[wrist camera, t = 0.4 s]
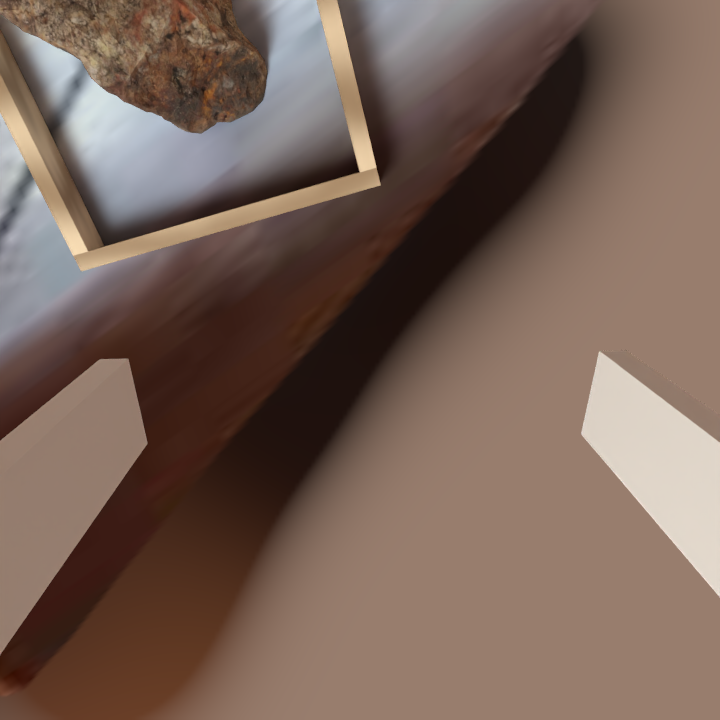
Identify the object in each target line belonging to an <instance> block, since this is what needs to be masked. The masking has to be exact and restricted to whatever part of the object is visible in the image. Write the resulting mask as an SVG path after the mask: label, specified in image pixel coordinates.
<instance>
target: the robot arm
mask: <svg viewBox="0 0 720 720" xmlns="http://www.w3.org/2000/svg"><path fill="white" fill-rule="evenodd" d="M581 434H582V436H583V437H584V438H585V439H586V440H587V442H588V443H589V444H590V445H591V446H592V447H593V449H594V450H595V451H596V452H597V453H598V454H599V456H601V458H602V459H603V460H604V461H605V463H606V464H607V465H608V466H609V467H610V469H611V470H612V471H613V472H614V473H615V474H616V476H617V477H618V478H619V479H620V480H621V482H622V483H623V484H624V485H625V486H626V487H627V489H628V490H629V491H630V492H631V493H632V494H633V496H634V497H635V498H636V499H637V500H638V501H639V503H640V504H641V505H642V506H643V507H644V509H645V510H646V511H647V512H648V513H649V514H650V516H651V517H652V518H653V519H654V520H655V522H656V523H657V524H658V525H659V526H660V527H661V529H662V530H663V531H664V532H665V533H666V534H667V536H668V537H669V538H670V539H671V540H672V541H673V543H674V544H675V545H676V546H677V547H678V549H679V550H680V551H681V552H682V553H683V554H684V555H685V557H686V558H687V559H688V560H689V562H690V563H691V564H692V565H693V566H694V567H695V569H696V570H697V571H698V572H699V573H700V574H701V576H702V577H703V578H704V579H705V580H706V581H707V583H708V584H709V585H710V586H711V587H712V589H713V590H714V591H715V592H716V593H717V594H718V595H719V597H720V414H718V413H717V412H715V411H714V410H712V409H711V408H709V407H708V406H706V405H705V404H704V403H702V402H701V401H699V400H698V399H696V398H695V397H693V396H692V395H690V394H689V393H688V392H686V391H685V390H683V389H682V388H680V387H679V386H677V385H676V384H674V383H673V382H671V381H670V380H669V379H667V378H666V377H664V376H663V375H661V374H660V373H658V372H657V371H655V370H654V369H653V368H651V367H650V366H648V365H647V364H645V363H644V362H642V361H641V360H640V359H638V358H637V357H635V356H634V355H632V354H631V353H629V352H628V351H626V350H614V351H599V355H598V359H597V364H596V368H595V373H594V378H593V382H592V387H591V392H590V396H589V401H588V405H587V410H586V414H585V419H584V424H583V429H582V433H581ZM146 445H147V439H146V435H145V431H144V426H143V422H142V417H141V413H140V409H139V404H138V400H137V395H136V391H135V387H134V382H133V378H132V373H131V369H130V365H129V360H128V359H100V360H99V361H97V362H96V363H95V364H94V365H92V366H91V367H90V368H89V369H88V370H86V371H85V372H84V373H83V374H81V375H80V376H79V377H78V378H77V379H75V380H74V381H73V382H72V383H70V384H69V385H68V386H67V387H66V388H64V389H63V390H62V391H61V392H59V393H58V394H57V395H56V396H55V397H53V398H52V399H51V400H50V401H48V402H47V403H46V404H45V405H43V406H42V407H41V408H40V409H39V410H37V411H36V412H35V413H34V414H32V415H31V416H30V417H29V418H28V419H26V420H25V421H24V422H23V423H21V424H20V425H19V426H18V427H17V428H15V429H14V430H13V431H12V432H10V433H9V434H8V435H7V436H6V437H4V438H3V439H2V440H1V441H0V654H1V652H2V651H3V650H4V648H5V647H6V645H7V644H8V642H9V641H10V640H11V638H12V637H13V635H14V634H15V632H16V631H17V629H18V628H19V627H20V625H21V624H22V622H23V621H24V619H25V618H26V617H27V615H28V614H29V612H30V611H31V609H32V608H33V607H34V605H35V604H36V602H37V601H38V599H39V598H40V597H41V595H42V594H43V592H44V591H45V589H46V588H47V586H48V585H49V584H50V582H51V581H52V579H53V578H54V576H55V575H56V574H57V572H58V571H59V569H60V568H61V566H62V565H63V564H64V562H65V561H66V559H67V558H68V556H69V555H70V554H71V552H72V551H73V549H74V548H75V546H76V545H77V543H78V542H79V541H80V539H81V538H82V536H83V535H84V533H85V532H86V531H87V529H88V528H89V526H90V525H91V523H92V522H93V521H94V519H95V518H96V516H97V515H98V513H99V512H100V511H101V509H102V508H103V506H104V505H105V503H106V502H107V500H108V499H109V498H110V496H111V495H112V493H113V492H114V490H115V489H116V488H117V486H118V485H119V483H120V482H121V480H122V479H123V478H124V476H125V475H126V473H127V472H128V470H129V469H130V467H131V466H132V465H133V463H134V462H135V460H136V459H137V457H138V456H139V455H140V453H141V452H142V450H143V449H144V447H145V446H146Z"/></svg>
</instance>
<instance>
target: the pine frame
mask: <svg viewBox="0 0 720 720" xmlns="http://www.w3.org/2000/svg"><path fill="white" fill-rule="evenodd" d="M316 1H317V5H318V9H319V13H320V17H321V21H322V25H323V29H324V33H325V37H326V41H327V45H328V49H329V53H330V57H331V61H332V65H333V69H334V73H335V77H336V81H337V85H338V89H339V93H340V97H341V101H342V105H343V109H344V113H345V117H346V121H347V125H348V129H349V133H350V137H351V141H352V145H353V149H354V153H355V157H356V161H357V165H358V169H359V172H358V173H354V174H351V175H347V176H344V177H340V178H337V179H333V180H330V181H327V182H323V183H320V184H316V185H313V186H309V187H306V188H303V189H299V190H296V191H292V192H289V193H285V194H282V195H278V196H275V197H272V198H268V199H265V200H261V201H258V202H254V203H251V204H248V205H244V206H241V207H237V208H234V209H230V210H227V211H223V212H220V213H217V214H213V215H210V216H206V217H203V218H199V219H196V220H193V221H189V222H186V223H182V224H179V225H175V226H172V227H168V228H165V229H162V230H158V231H155V232H151V233H148V234H144V235H141V236H138V237H134V238H131V239H127V240H124V241H120V242H117V243H113V244H110V245H107V246H104V244H103V242H102V240H101V238H100V236H99V234H98V232H97V230H96V228H95V226H94V223H93V221H92V219H91V217H90V215H89V213H88V211H87V209H86V207H85V205H84V203H83V201H82V198H81V196H80V194H79V192H78V190H77V188H76V186H75V184H74V182H73V180H72V178H71V175H70V173H69V171H68V169H67V167H66V165H65V163H64V161H63V159H62V157H61V155H60V153H59V150H58V148H57V146H56V144H55V142H54V140H53V138H52V136H51V134H50V132H49V130H48V127H47V125H46V123H45V121H44V119H43V117H42V115H41V113H40V111H39V109H38V107H37V105H36V102H35V100H34V98H33V96H32V94H31V92H30V90H29V88H28V86H27V84H26V82H25V79H24V77H23V75H22V73H21V71H20V69H19V67H18V65H17V63H16V61H15V59H14V57H13V54H12V52H11V50H10V48H9V46H8V44H7V42H6V40H5V38H4V36H3V34H2V31H1V29H0V113H1V115H2V117H3V119H4V121H5V123H6V125H7V127H8V129H9V131H10V133H11V134H12V136H13V138H14V140H15V142H16V144H17V146H18V148H19V150H20V152H21V154H22V156H23V158H24V160H25V162H26V164H27V166H28V168H29V170H30V172H31V174H32V176H33V178H34V180H35V182H36V184H37V186H38V187H39V189H40V191H41V193H42V195H43V197H44V199H45V201H46V203H47V205H48V207H49V209H50V211H51V213H52V215H53V217H54V219H55V221H56V223H57V225H58V227H59V229H60V231H61V233H62V235H63V237H64V239H65V240H66V242H67V244H68V246H69V248H70V250H71V252H72V254H73V256H74V258H75V260H76V262H77V264H78V266H79V268H80V270H81V271H84V270H87V269H91V268H94V267H98V266H101V265H105V264H108V263H112V262H115V261H119V260H122V259H126V258H129V257H133V256H136V255H140V254H143V253H146V252H150V251H153V250H157V249H160V248H164V247H167V246H171V245H174V244H178V243H181V242H185V241H188V240H192V239H195V238H199V237H202V236H206V235H209V234H213V233H216V232H220V231H223V230H226V229H230V228H233V227H237V226H240V225H244V224H247V223H251V222H254V221H258V220H261V219H265V218H268V217H272V216H275V215H279V214H282V213H286V212H289V211H293V210H296V209H300V208H303V207H306V206H310V205H313V204H317V203H320V202H324V201H327V200H331V199H334V198H338V197H341V196H345V195H348V194H352V193H355V192H359V191H362V190H366V189H369V188H373V187H376V186H380V180H379V176H378V172H377V168H376V163H375V159H374V155H373V151H372V146H371V142H370V138H369V134H368V129H367V125H366V121H365V117H364V112H363V108H362V104H361V100H360V95H359V91H358V87H357V83H356V78H355V74H354V70H353V66H352V61H351V57H350V53H349V49H348V44H347V40H346V36H345V32H344V27H343V23H342V19H341V15H340V10H339V6H338V2H337V0H316Z"/></svg>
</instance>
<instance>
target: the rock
mask: <svg viewBox="0 0 720 720" xmlns="http://www.w3.org/2000/svg"><path fill="white" fill-rule="evenodd" d="M0 14H2V15H3V16H4V17H5V18H6V19H8V20H9V21H10V22H11V23H13V24H15V25H16V26H18V27H19V28H20V29H21V30H22V31H24V32H26V33H29V34H31V35H34V36H37V37H39V38H41V39H42V40H44V41H46V42H48V43H50V44H52V45H53V46H55V47H57V48H60V49H62V50H64V51H66V52H68V53H70V54H72V55H74V56H75V57H77V58H78V59H80V60H81V61H82V63H83V65H84V67H85V68H86V70H87V72H88V74H89V75H90V77H91V78H92V79H93V80H94V81H95V82H96V83H97V84H98V85H100V86H101V87H102V88H103V89H105V90H106V91H107V92H108V93H111V94H114V95H116V96H118V97H119V98H120V99H121V100H123V101H124V102H126V103H129V104H132V105H134V106H136V107H138V108H140V109H142V110H144V111H146V112H152V113H154V114H157V115H159V116H162V117H163V118H164V119H165V120H167V121H170V122H171V123H173V124H174V125H176V126H177V127H178V128H180V129H182V130H184V131H187V132H191V133H203V132H204V131H206V130H208V129H209V128H210V127H212V126H214V125H215V124H216V122H232V121H234V120H236V119H238V118H240V117H242V116H244V115H246V114H248V113H250V112H252V111H253V110H254V109H255V108H256V107H257V106H258V105H259V104H260V103H261V102H262V100H263V96H264V92H265V86H266V77H267V69H266V64H265V60H264V59H263V58H262V56H261V55H260V53H259V52H258V50H257V48H256V47H255V46H253V45H252V44H251V43H250V42H249V41H248V39H247V38H246V37H245V36H244V35H243V33H242V32H241V31H240V29H239V28H238V26H237V23H236V20H235V16H234V14H233V12H232V2H231V0H0Z"/></svg>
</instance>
